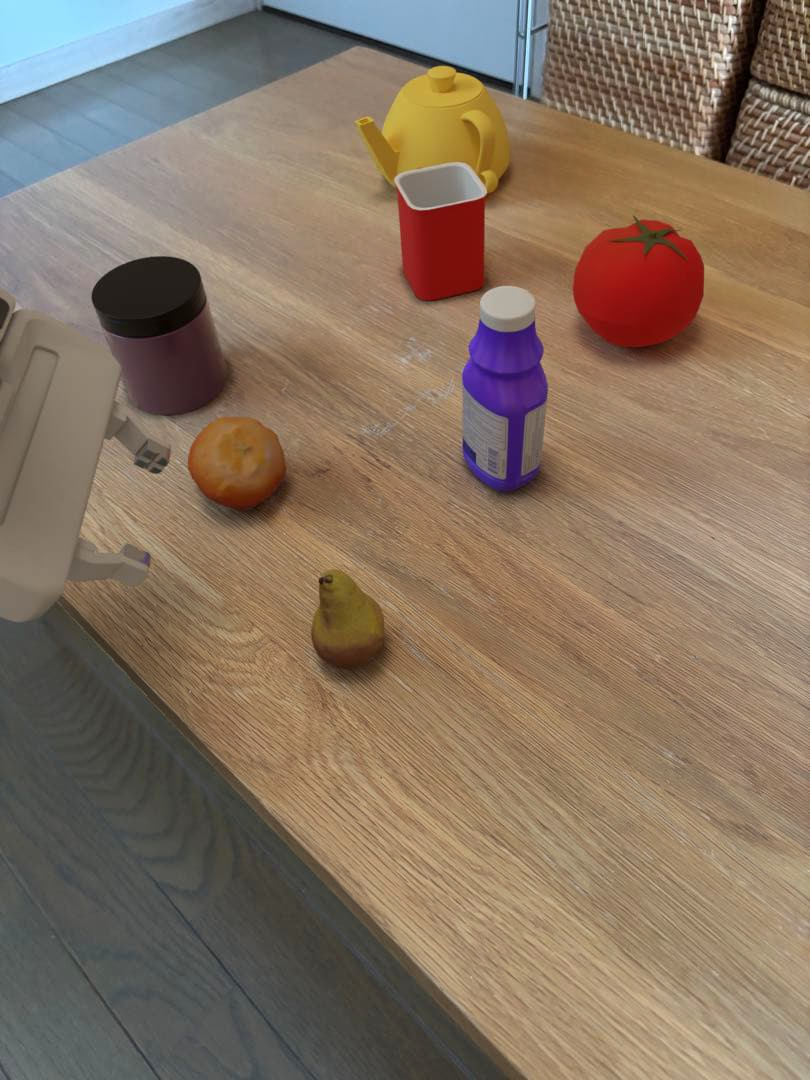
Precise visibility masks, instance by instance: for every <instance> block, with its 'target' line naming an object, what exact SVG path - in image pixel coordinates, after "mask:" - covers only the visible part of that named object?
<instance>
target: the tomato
mask: <svg viewBox="0 0 810 1080" xmlns="http://www.w3.org/2000/svg"><path fill="white" fill-rule="evenodd" d="M632 217H633V219H634V221H635V222H634V223H632V224H630V225H628V226H625V227H614V228H608V229H604V230H601V232H599V234H598V235H597V236H595V237H594V238H593V239H592V240H591V241H590V242H589V244H587V245H586V246H585V247H584V249H583V252H582V254H580V255H581V256H580V258H579V259H578V262H577V264H576V266H575V268H574V275H573V282H572V294H573V295H572V296H573V301H574V304H575V306H576V309H577V311H578V313H579V315H580V316H581V317H582V319H583V320H584V321H585V323H586V324H587V325H588V326H589V327H590V329H591V330H592V331H593V332H594V333H595V334H596V335H598V336H599V337H600V338H601V339H603V340H604V341H606V342H607V343H609V344H612V345H616V346H618V347H621V348H622V347H623V348H626V347H627V348H641V347H647V346H653V345H658V344H662V343H665V342H667V341H669V340H670V339H672V338H673V337H676V336H677V335H680V333H682V332H683V331H684V330H686V329H687V328H688V327H689V326H690V325H691V324H692V322H693V321H694V320H695V318H696V317H697V314H698V312H699V309H700V308H701V304H702V301H703V299H704V295H705V294H704V293H705V292H704V291H705V290H704V289H705V264H704V260H703V257H702V255H701V254H700V252H699V250H698V249H697V247H696V246H695V244H694V243H693V241H692V240H691V239H688V238H685V237H682V236H681V235H680V234H679V233H678V232H680V231H681V229H675V228H674V226H672V225H671V224H668V223H666V222H662V221H659V220H656V219H655V220H653V219H638V218H637V217H636V216H635V215H632Z"/></svg>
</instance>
